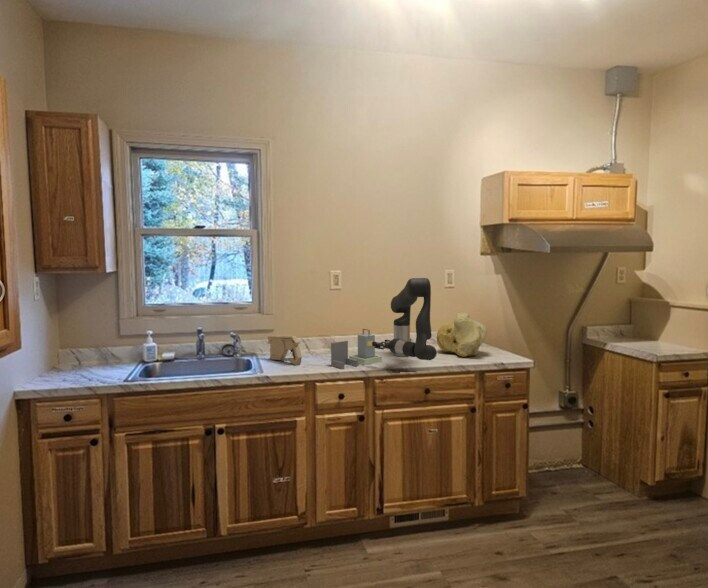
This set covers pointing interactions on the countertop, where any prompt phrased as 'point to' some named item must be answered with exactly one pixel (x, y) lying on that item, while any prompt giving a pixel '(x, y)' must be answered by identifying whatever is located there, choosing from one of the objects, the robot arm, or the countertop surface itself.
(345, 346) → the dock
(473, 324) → the sculpture
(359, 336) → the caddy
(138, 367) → the countertop surface
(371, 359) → the tray
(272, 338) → the tan cutout panel
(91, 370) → the countertop surface
